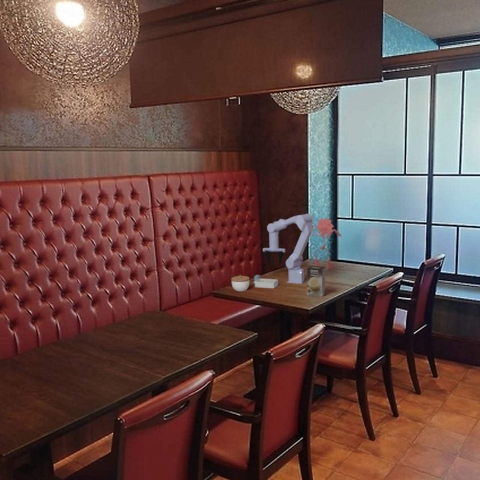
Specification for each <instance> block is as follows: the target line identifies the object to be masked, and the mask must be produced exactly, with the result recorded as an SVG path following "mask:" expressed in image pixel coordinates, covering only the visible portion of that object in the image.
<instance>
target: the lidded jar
mask: <svg viewBox="0 0 480 480" xmlns="http://www.w3.org/2000/svg"><path fill="white" fill-rule="evenodd" d="M230 280H231V286H232V289H233V290H234V291H235V292H246V290H248V289H249V286H250V277H249V276H246V275H241V274H239V275H238V276H237V275H236V276H233V277H231V279H230Z"/></svg>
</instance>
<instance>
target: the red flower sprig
mask: <svg viewBox="0 0 480 480" xmlns="http://www.w3.org/2000/svg"><path fill="white" fill-rule="evenodd" d="M315 228H316V230H318V233H319V234H314V225H313V224H312V236H313V237H316V236H317V237H318V236H319V237H322V238H323V239H324V240H323V244H322V245H321V247H320V248H318V249H316V250H315V251H314V255H315V260H314V261H313V266H321V267H326V271H328V270H329V268H331V269H333V270H334V268H336V266H334V264H333V263H332V262H331V261H330V260H327V261H326V264H327V265H325V264H322V265H321V264H320V261H319V259H317V253H316V252H317V251H319V250H326V251H327V252H328V259H330V257H331V256H330V255H331V253H330V251H329V250H328V249H327V248H326V246H325V243H326V239H327V240H328V239H329V238H330V236H331V235H332V234H333V232H334V233H335V234H336V235H338V237H342V234H341V233H340V232H339V231H338V230H336V229H335V227H334V225H333V223H332V220H331V219H328V217H326V218H323V217H320V220H319V221H317V225H316V226H315ZM333 228H334V229H333ZM325 235H326V236H325ZM327 236H328V237H327Z"/></svg>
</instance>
